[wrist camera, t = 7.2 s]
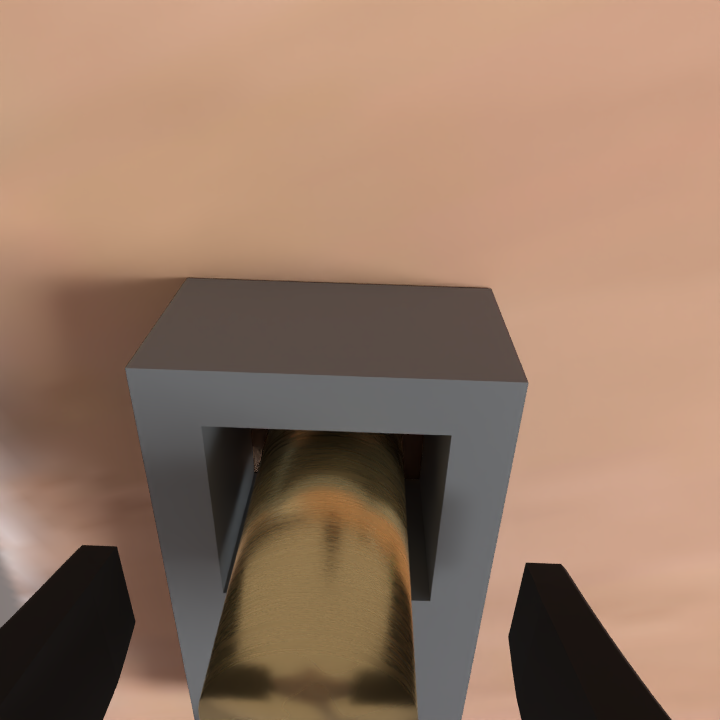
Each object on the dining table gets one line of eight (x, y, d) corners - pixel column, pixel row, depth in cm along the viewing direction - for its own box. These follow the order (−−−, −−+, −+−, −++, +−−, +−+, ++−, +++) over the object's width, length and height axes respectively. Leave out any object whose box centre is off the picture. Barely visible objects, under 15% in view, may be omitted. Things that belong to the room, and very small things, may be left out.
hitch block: (431, 694, 22) (440, 822, 19) (238, 686, 22) (213, 812, 19) (491, 288, 14) (528, 383, 11) (187, 278, 14) (125, 368, 11)
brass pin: (351, 472, 17) (332, 797, 10) (253, 414, 16) (159, 728, 9) (425, 397, 16) (464, 713, 9) (323, 329, 15) (276, 621, 8)
